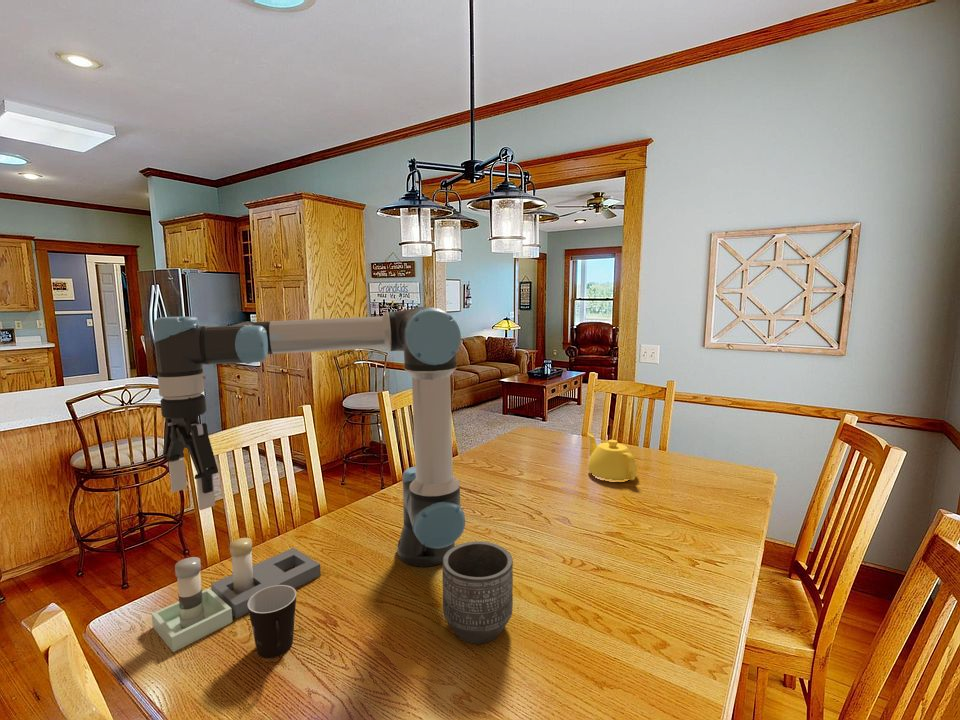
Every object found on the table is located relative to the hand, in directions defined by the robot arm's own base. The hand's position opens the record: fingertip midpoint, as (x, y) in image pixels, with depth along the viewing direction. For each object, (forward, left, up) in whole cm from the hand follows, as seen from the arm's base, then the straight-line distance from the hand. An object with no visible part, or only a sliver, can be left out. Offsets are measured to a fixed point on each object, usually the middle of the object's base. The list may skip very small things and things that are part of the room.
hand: (192, 498), depth 97 cm
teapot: (-32, -131, -27) cm, 138 cm away
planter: (-46, -35, -27) cm, 64 cm away
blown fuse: (0, +2, -26) cm, 26 cm away
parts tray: (0, +2, -27) cm, 27 cm away
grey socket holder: (+1, -15, -27) cm, 30 cm away
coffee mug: (-20, -5, -27) cm, 34 cm away
